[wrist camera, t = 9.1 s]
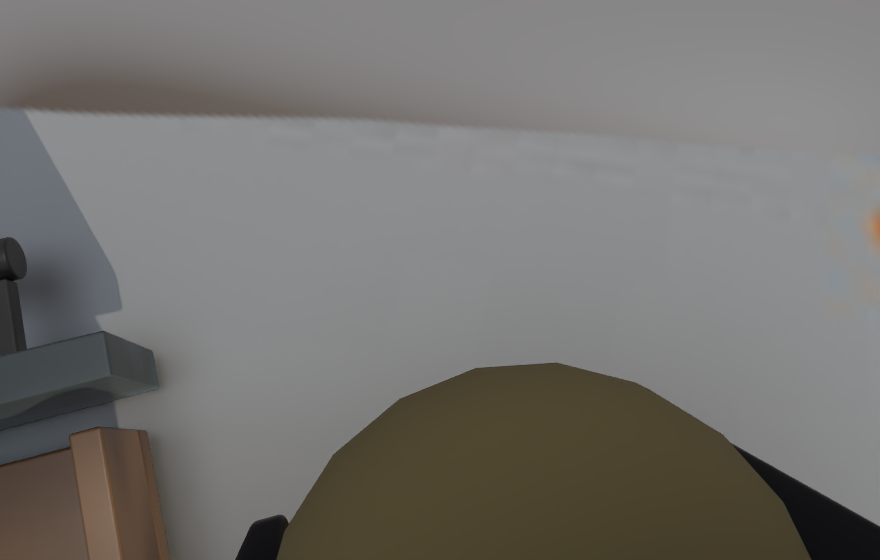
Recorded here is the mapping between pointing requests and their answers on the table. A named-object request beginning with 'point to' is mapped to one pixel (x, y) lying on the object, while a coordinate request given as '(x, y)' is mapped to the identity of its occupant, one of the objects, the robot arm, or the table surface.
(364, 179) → the table surface
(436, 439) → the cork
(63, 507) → the drawer
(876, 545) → the robot arm
